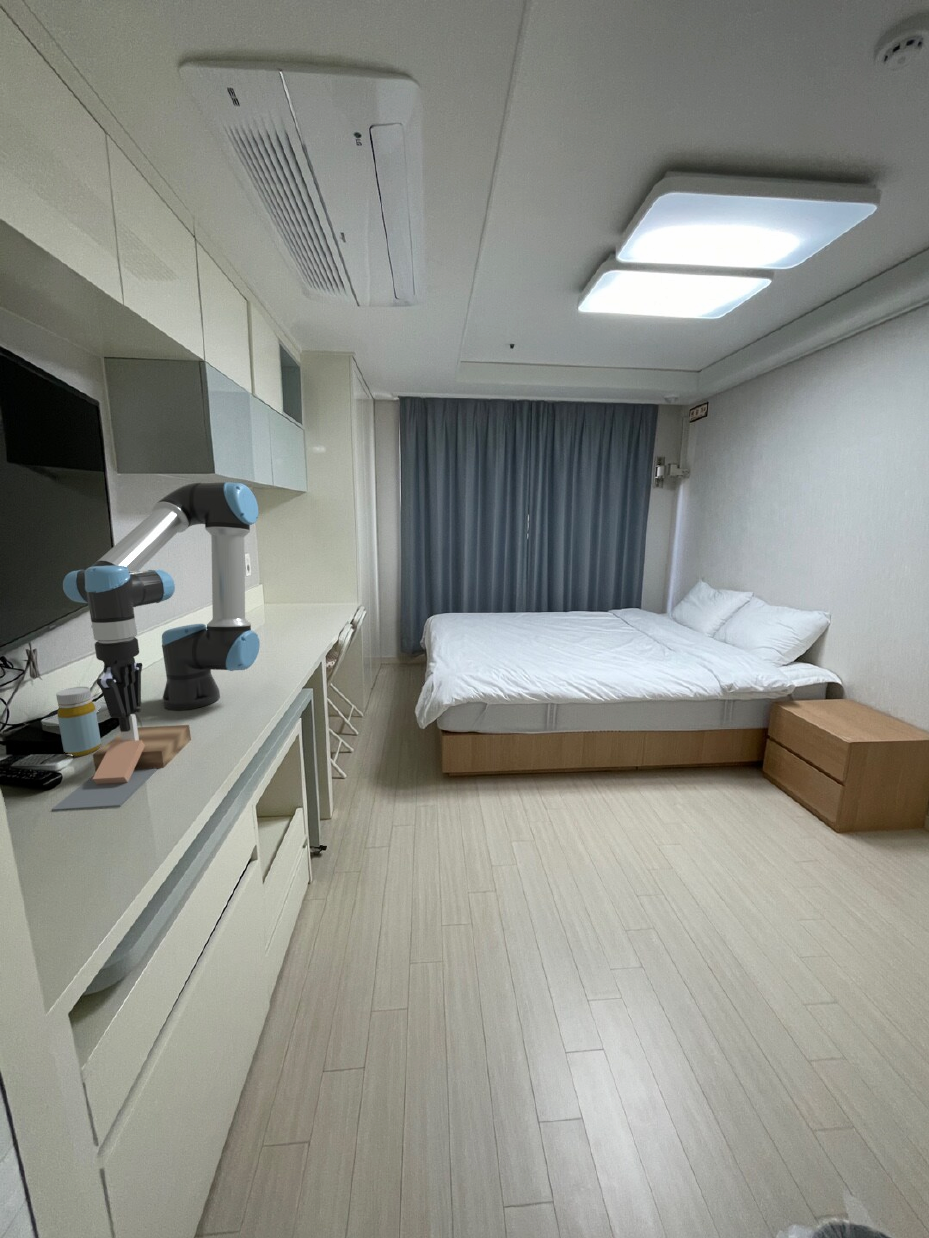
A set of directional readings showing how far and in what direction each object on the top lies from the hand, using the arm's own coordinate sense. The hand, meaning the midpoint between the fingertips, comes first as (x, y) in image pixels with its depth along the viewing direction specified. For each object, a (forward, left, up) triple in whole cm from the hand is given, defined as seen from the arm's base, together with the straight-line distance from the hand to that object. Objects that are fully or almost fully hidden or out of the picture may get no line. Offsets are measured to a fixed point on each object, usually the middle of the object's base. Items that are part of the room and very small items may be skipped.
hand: (130, 742), depth 107 cm
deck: (-5, 0, -6) cm, 7 cm away
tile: (+4, 0, -3) cm, 5 cm away
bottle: (-9, -16, -6) cm, 19 cm away
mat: (+10, 0, -6) cm, 11 cm away
